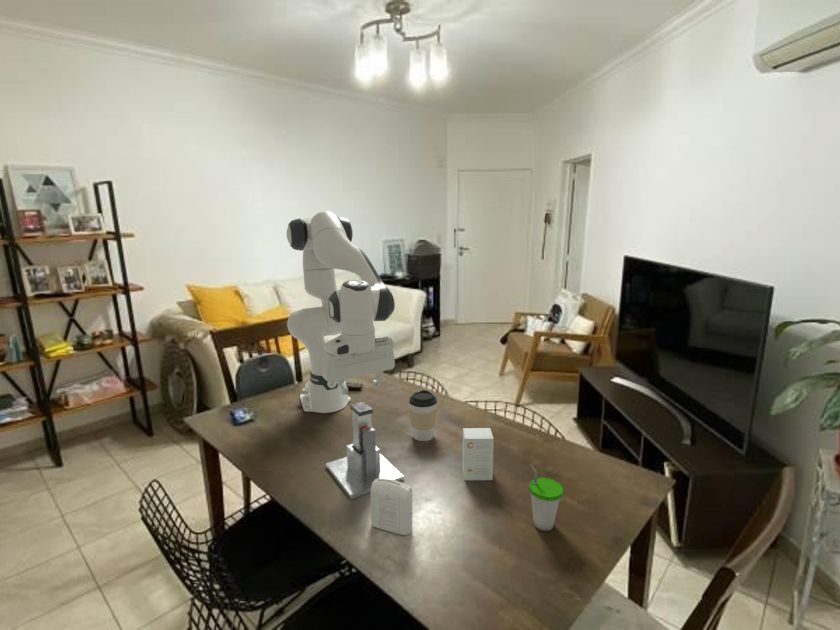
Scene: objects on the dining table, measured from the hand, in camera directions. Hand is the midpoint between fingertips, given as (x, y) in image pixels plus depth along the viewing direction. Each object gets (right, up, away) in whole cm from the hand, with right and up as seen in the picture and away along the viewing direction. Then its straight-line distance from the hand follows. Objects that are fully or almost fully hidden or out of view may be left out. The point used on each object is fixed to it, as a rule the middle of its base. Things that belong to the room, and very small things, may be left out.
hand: (360, 390), depth 124 cm
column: (0, -23, +6) cm, 24 cm away
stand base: (0, -25, +6) cm, 26 cm away
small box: (+33, -25, +5) cm, 41 cm away
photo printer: (+10, -30, -16) cm, 35 cm away
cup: (+46, -30, -15) cm, 57 cm away
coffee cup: (+17, -20, +27) cm, 38 cm away
